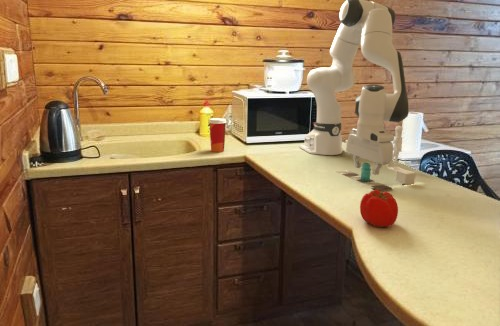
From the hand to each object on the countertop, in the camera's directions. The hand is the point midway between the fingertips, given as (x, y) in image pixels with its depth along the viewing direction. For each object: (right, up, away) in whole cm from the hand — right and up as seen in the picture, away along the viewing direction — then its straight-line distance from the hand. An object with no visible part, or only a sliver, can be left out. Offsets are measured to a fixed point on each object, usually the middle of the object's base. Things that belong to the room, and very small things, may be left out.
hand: (366, 170), depth 146 cm
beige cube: (+14, -5, +1) cm, 15 cm away
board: (-1, -4, +3) cm, 5 cm away
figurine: (+16, 0, +18) cm, 24 cm away
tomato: (-7, -14, -35) cm, 38 cm away
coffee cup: (-57, +8, +47) cm, 74 cm away
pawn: (0, -3, +1) cm, 4 cm away
